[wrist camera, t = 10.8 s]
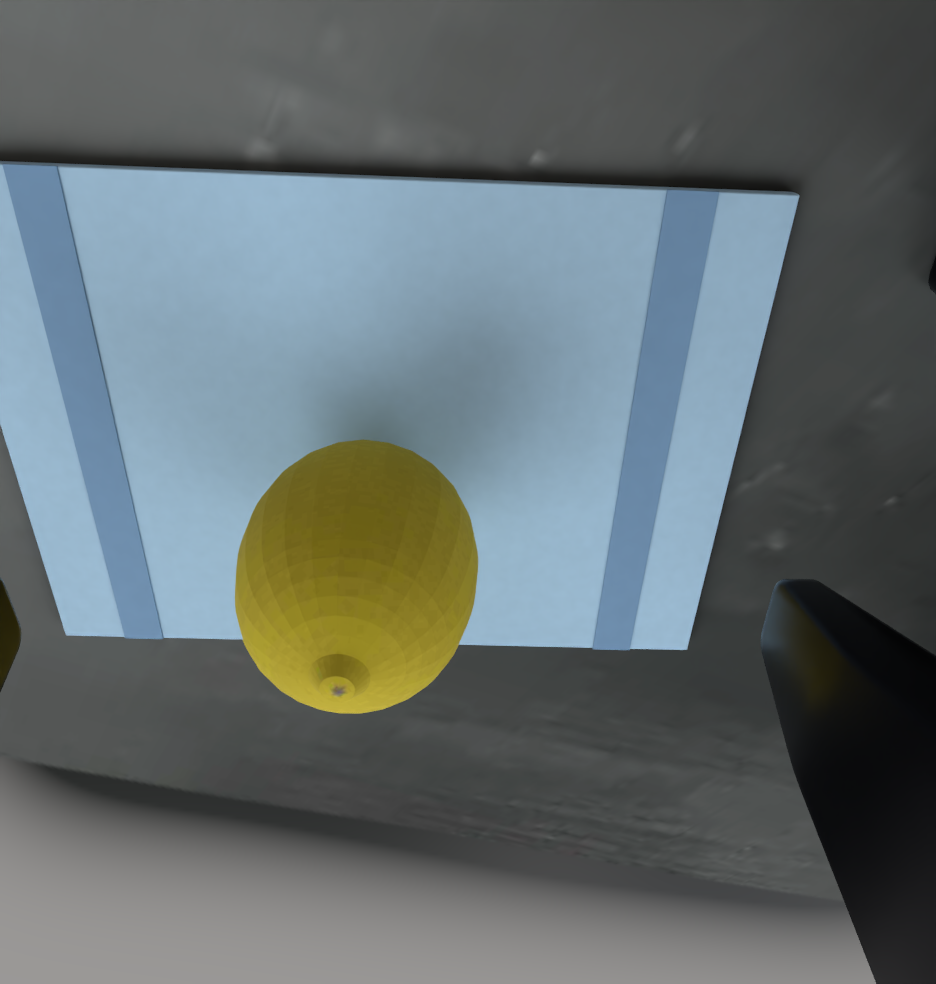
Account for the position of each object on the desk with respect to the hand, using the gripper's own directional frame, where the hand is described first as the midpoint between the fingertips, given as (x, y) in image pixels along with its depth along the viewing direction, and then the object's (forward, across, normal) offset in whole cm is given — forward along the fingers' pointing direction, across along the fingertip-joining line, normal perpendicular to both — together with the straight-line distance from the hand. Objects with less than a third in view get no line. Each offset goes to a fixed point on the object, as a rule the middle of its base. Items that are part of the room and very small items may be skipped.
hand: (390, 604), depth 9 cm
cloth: (+12, +2, +4) cm, 13 cm away
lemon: (+12, +2, +5) cm, 13 cm away
